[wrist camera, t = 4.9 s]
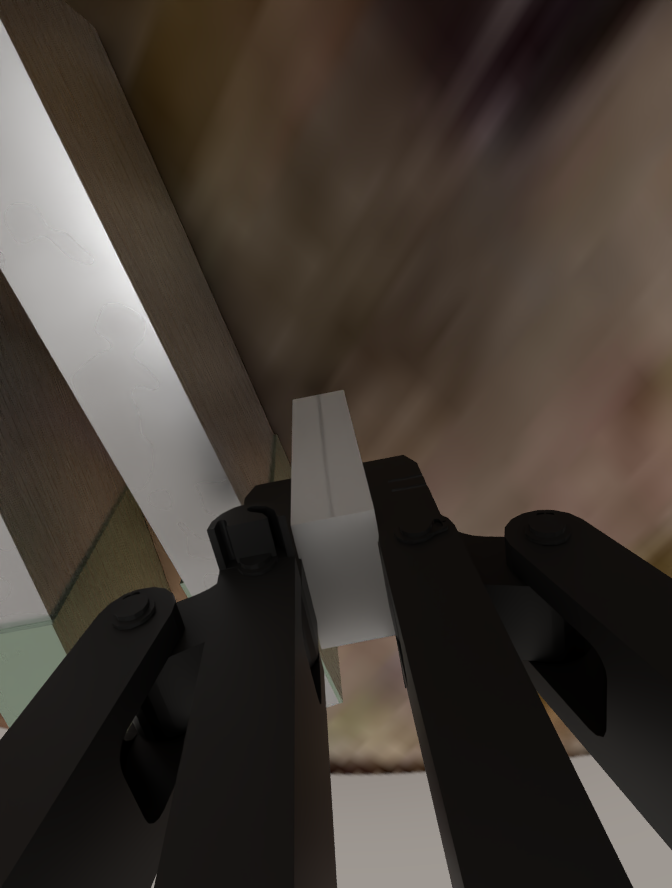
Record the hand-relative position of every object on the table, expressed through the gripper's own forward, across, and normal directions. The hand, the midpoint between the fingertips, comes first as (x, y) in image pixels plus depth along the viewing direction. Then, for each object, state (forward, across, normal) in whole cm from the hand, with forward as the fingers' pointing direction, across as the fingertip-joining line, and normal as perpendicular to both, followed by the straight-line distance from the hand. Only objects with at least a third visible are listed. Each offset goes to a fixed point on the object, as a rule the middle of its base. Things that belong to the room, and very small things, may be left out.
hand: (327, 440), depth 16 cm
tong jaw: (+3, -3, +3) cm, 5 cm away
